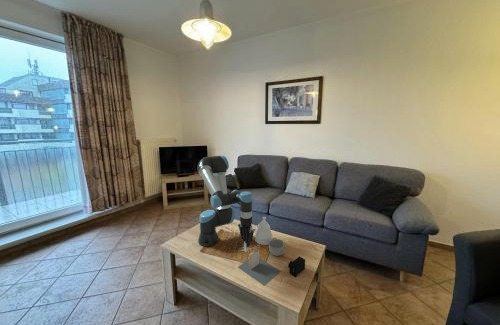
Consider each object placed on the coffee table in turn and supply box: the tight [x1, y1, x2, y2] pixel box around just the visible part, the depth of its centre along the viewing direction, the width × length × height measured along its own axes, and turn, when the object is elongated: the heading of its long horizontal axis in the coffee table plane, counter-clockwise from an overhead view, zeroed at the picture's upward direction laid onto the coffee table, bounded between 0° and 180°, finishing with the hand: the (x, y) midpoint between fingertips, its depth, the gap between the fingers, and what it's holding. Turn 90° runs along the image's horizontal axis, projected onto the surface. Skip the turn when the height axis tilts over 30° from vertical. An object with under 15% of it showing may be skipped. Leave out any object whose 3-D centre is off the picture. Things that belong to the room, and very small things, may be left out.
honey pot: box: [254, 216, 273, 246], centre depth 159 cm, size 13×13×18 cm
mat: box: [237, 258, 282, 286], centre depth 128 cm, size 22×16×1 cm
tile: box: [248, 248, 261, 270], centre depth 130 cm, size 2×8×10 cm, turn 136°
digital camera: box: [288, 256, 306, 278], centre depth 127 cm, size 10×5×7 cm, turn 134°
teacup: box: [268, 237, 285, 257], centre depth 145 cm, size 14×11×8 cm
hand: (246, 250), depth 134 cm, fingers closed
